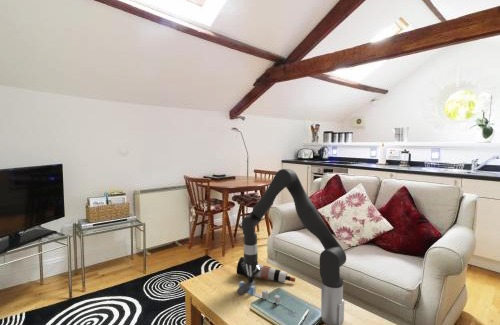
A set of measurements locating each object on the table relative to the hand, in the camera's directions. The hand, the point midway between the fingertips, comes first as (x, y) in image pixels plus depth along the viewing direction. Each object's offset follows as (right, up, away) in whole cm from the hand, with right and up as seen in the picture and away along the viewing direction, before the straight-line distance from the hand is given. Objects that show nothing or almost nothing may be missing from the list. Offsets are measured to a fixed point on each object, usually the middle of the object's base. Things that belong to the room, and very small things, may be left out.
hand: (250, 281), depth 148 cm
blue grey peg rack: (+4, -4, -7) cm, 9 cm away
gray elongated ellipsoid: (-2, -4, -2) cm, 4 cm away
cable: (+9, -3, +11) cm, 14 cm away
